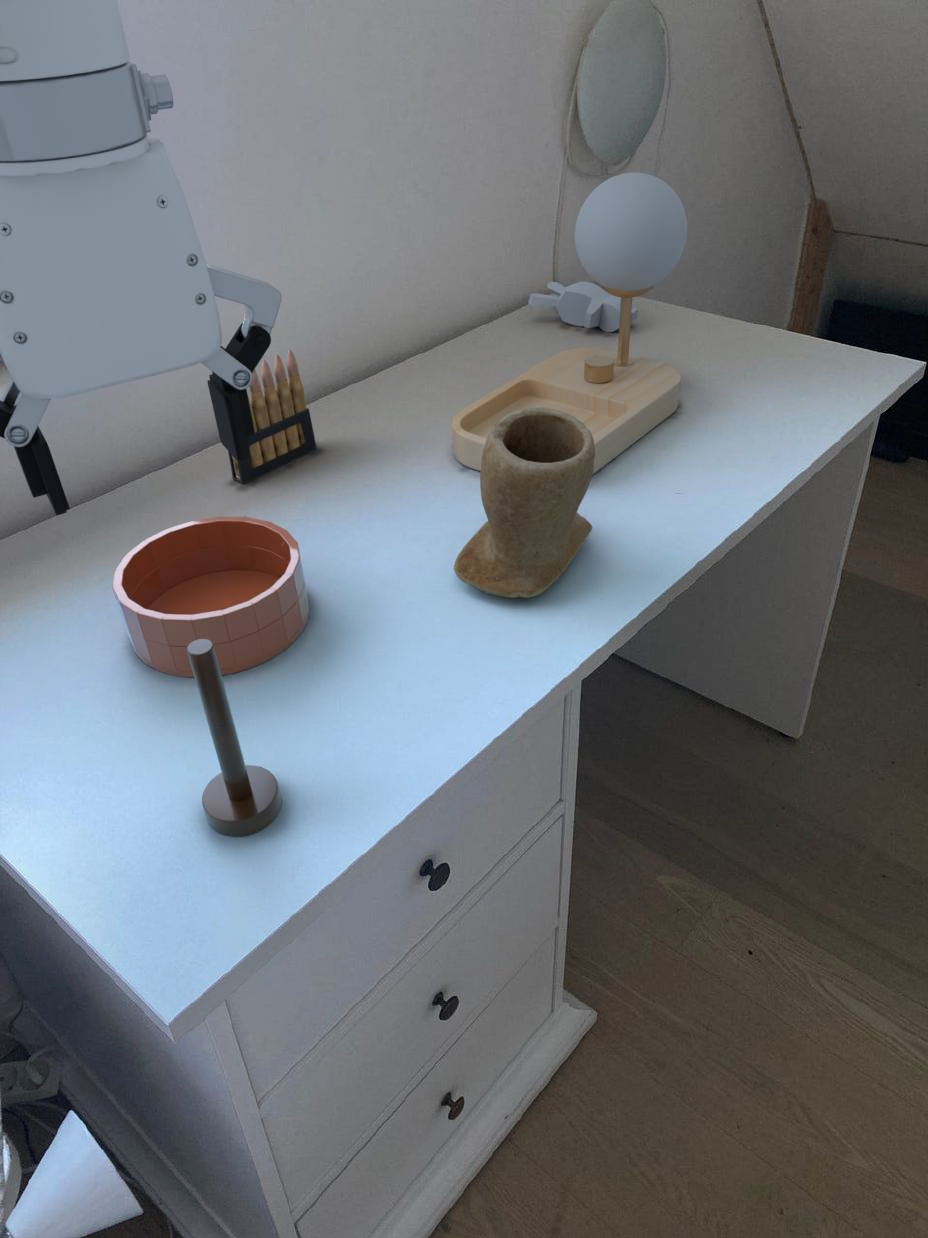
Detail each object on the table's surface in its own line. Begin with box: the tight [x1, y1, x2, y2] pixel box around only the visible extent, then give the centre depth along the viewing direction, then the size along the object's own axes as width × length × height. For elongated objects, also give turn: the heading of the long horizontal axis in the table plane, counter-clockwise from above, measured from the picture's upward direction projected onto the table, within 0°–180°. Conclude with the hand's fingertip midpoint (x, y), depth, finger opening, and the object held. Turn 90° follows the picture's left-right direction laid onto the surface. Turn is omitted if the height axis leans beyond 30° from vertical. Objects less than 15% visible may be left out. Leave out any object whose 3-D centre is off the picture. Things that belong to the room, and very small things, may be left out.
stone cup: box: [453, 407, 595, 599], centre depth 85 cm, size 15×12×15 cm
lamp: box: [451, 172, 688, 476], centre depth 105 cm, size 33×17×25 cm, turn 142°
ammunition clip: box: [227, 349, 317, 485], centre depth 104 cm, size 11×2×12 cm, turn 137°
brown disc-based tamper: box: [187, 639, 282, 837], centre depth 62 cm, size 5×5×15 cm
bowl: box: [111, 516, 310, 678], centre depth 82 cm, size 16×16×6 cm
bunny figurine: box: [527, 280, 639, 333], centre depth 137 cm, size 10×5×15 cm
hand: (150, 476), depth 50 cm, fingers open, 9 cm apart
